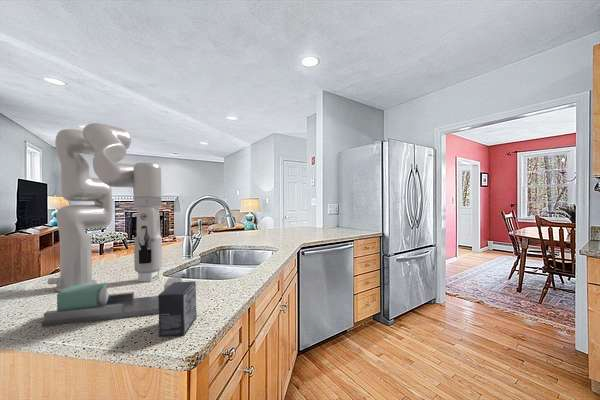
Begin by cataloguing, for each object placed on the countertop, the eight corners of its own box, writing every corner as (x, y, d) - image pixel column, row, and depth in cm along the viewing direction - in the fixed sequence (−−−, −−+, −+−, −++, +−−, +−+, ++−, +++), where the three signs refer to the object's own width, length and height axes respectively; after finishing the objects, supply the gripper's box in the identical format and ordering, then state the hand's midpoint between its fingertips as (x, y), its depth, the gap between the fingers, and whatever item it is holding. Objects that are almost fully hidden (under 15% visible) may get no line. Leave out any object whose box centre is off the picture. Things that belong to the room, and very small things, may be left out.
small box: (173, 318, 77) (173, 281, 78) (197, 317, 78) (197, 280, 78) (157, 337, 67) (156, 294, 67) (184, 336, 68) (184, 293, 68)
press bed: (41, 327, 73) (41, 298, 73) (65, 310, 84) (64, 285, 84) (177, 311, 83) (177, 286, 83) (182, 297, 94) (182, 275, 94)
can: (133, 275, 81) (133, 234, 81) (135, 270, 87) (135, 231, 87) (162, 272, 84) (162, 232, 84) (161, 267, 91) (161, 230, 91)
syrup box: (151, 281, 113) (151, 246, 113) (137, 281, 113) (137, 246, 113) (159, 277, 119) (158, 244, 119) (145, 278, 119) (145, 244, 119)
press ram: (57, 315, 76) (57, 294, 76) (71, 305, 83) (71, 285, 83) (100, 311, 78) (99, 290, 78) (110, 301, 86) (110, 282, 86)
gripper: (155, 203, 78) (156, 265, 78) (165, 202, 95) (166, 254, 95) (125, 203, 76) (126, 267, 76) (141, 203, 93) (141, 256, 93)
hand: (148, 260), depth 86 cm, fingers closed on can, 7 cm apart
